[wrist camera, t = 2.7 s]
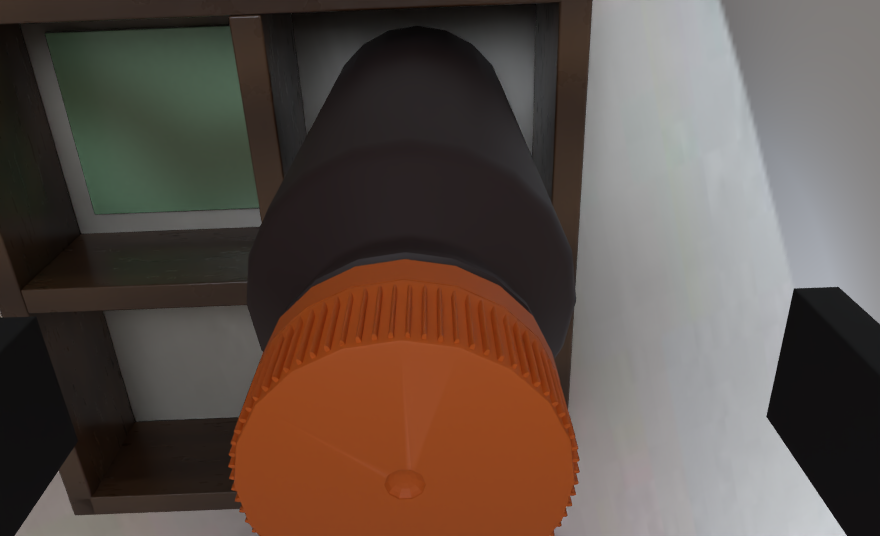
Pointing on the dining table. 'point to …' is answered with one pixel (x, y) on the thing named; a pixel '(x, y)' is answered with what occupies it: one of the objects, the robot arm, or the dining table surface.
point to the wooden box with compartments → (189, 200)
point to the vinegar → (409, 314)
